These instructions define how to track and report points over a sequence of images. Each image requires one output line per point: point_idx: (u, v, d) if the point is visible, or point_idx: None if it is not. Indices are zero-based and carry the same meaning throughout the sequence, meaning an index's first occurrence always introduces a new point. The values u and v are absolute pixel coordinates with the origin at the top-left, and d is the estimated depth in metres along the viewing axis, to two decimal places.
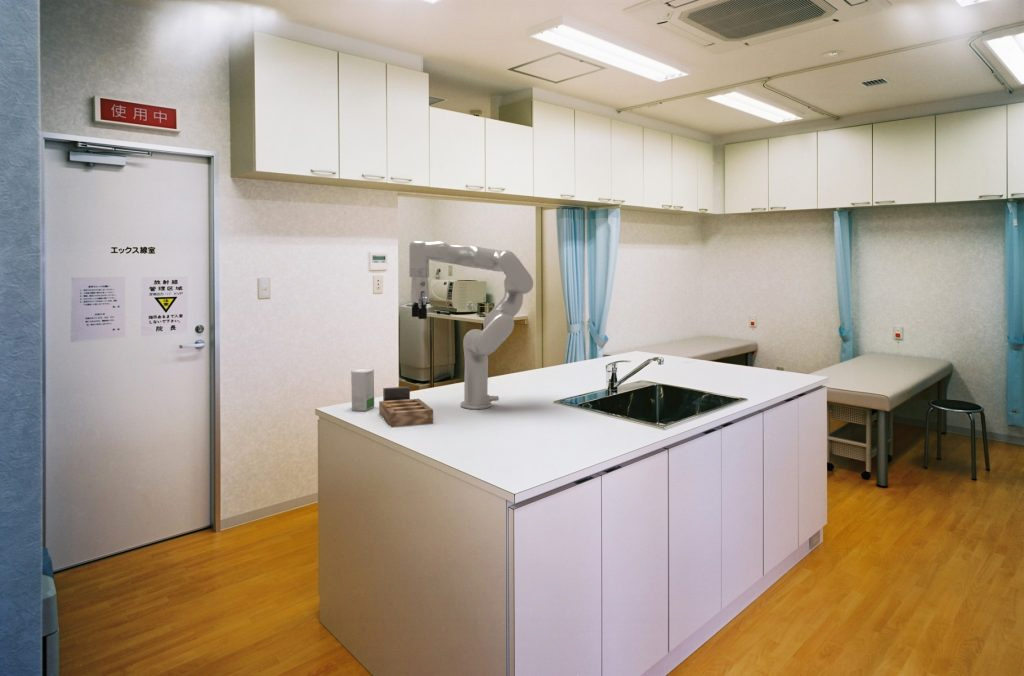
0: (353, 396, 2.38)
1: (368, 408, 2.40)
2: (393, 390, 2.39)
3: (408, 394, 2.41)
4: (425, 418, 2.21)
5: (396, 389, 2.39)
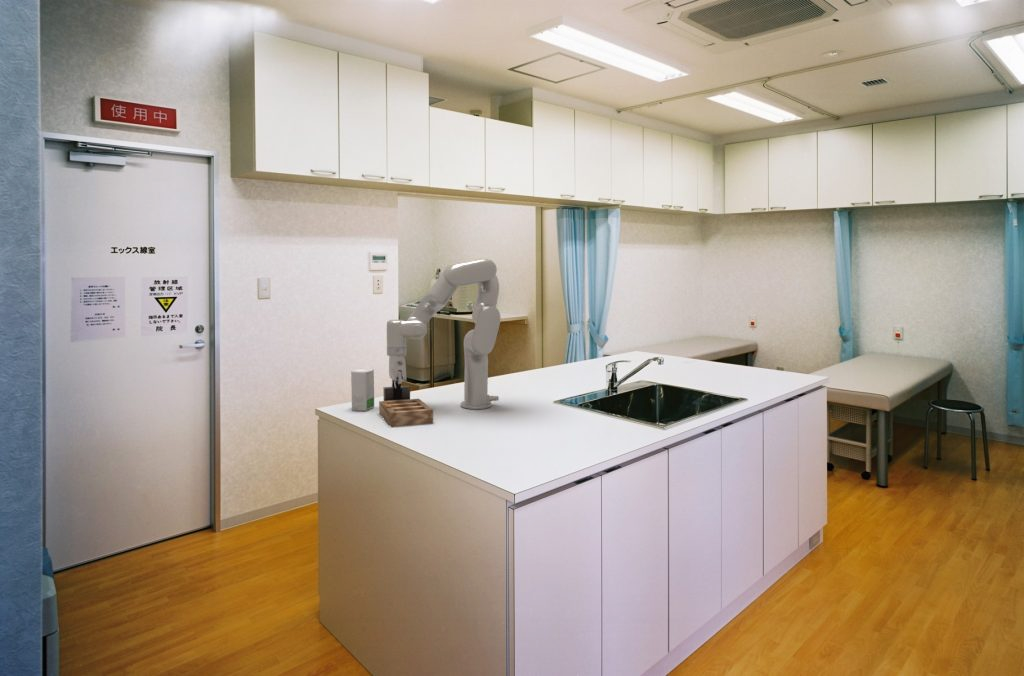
0: (353, 396, 2.38)
1: (368, 408, 2.40)
2: (393, 389, 2.39)
3: (408, 393, 2.41)
4: (425, 418, 2.21)
5: None
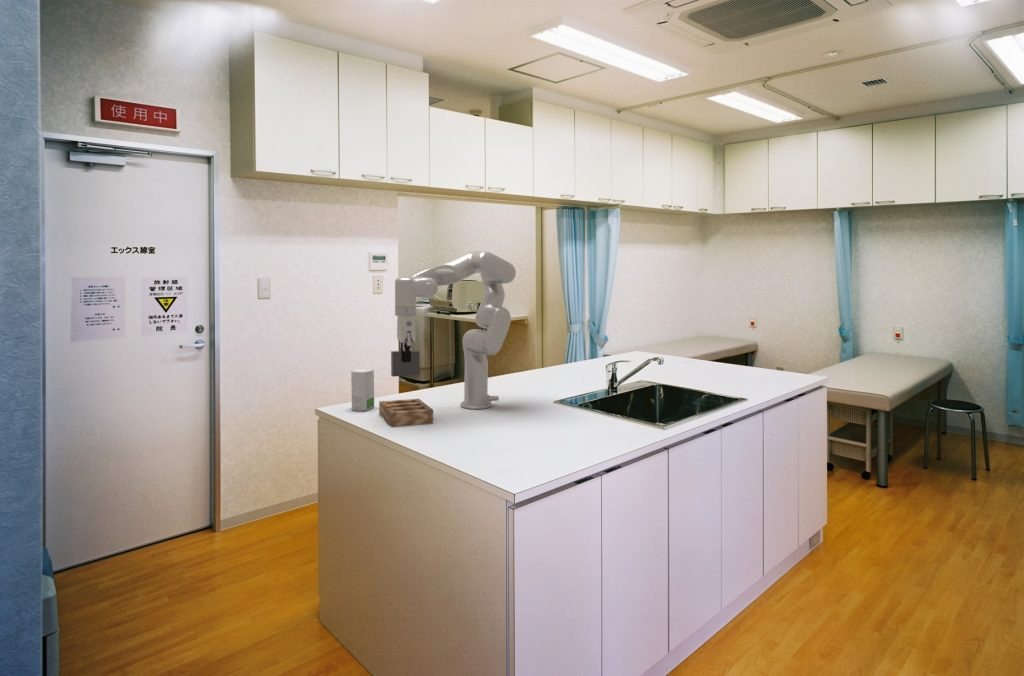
0: (353, 396, 2.38)
1: (368, 408, 2.40)
2: None
3: (418, 358, 2.26)
4: (425, 418, 2.21)
5: None
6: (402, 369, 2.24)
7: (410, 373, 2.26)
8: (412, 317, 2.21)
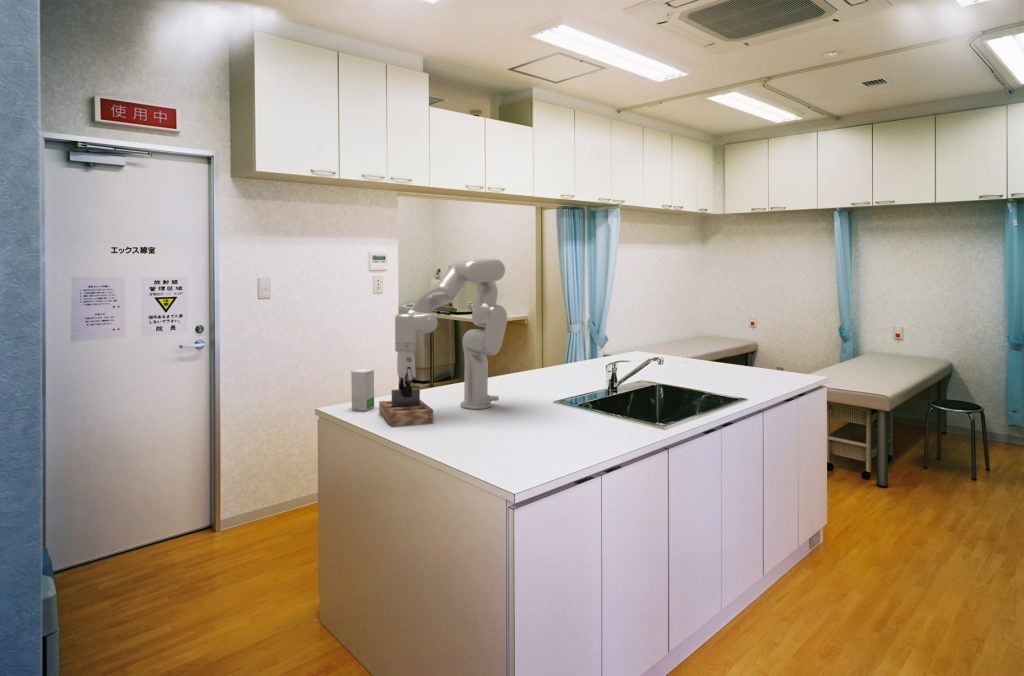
0: (353, 396, 2.38)
1: (368, 408, 2.40)
2: (402, 392, 2.25)
3: (418, 396, 2.28)
4: (425, 418, 2.21)
5: None
6: None
7: None
8: (412, 353, 2.22)
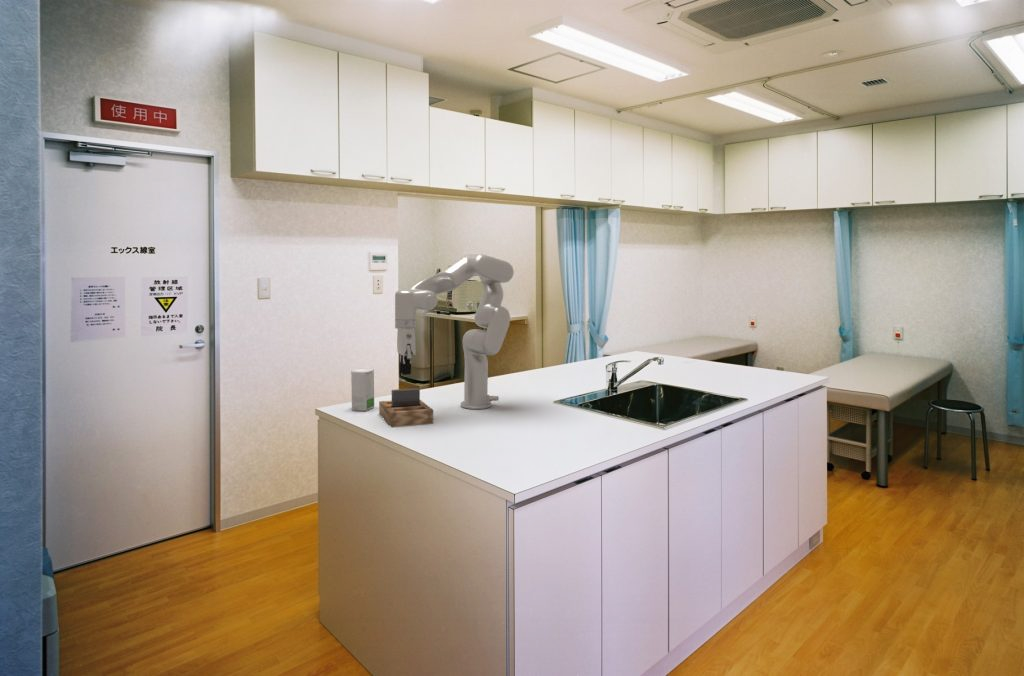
0: (353, 396, 2.38)
1: (368, 408, 2.40)
2: (402, 392, 2.25)
3: (418, 396, 2.28)
4: (425, 418, 2.21)
5: (405, 391, 2.26)
6: None
7: None
8: (412, 330, 2.21)
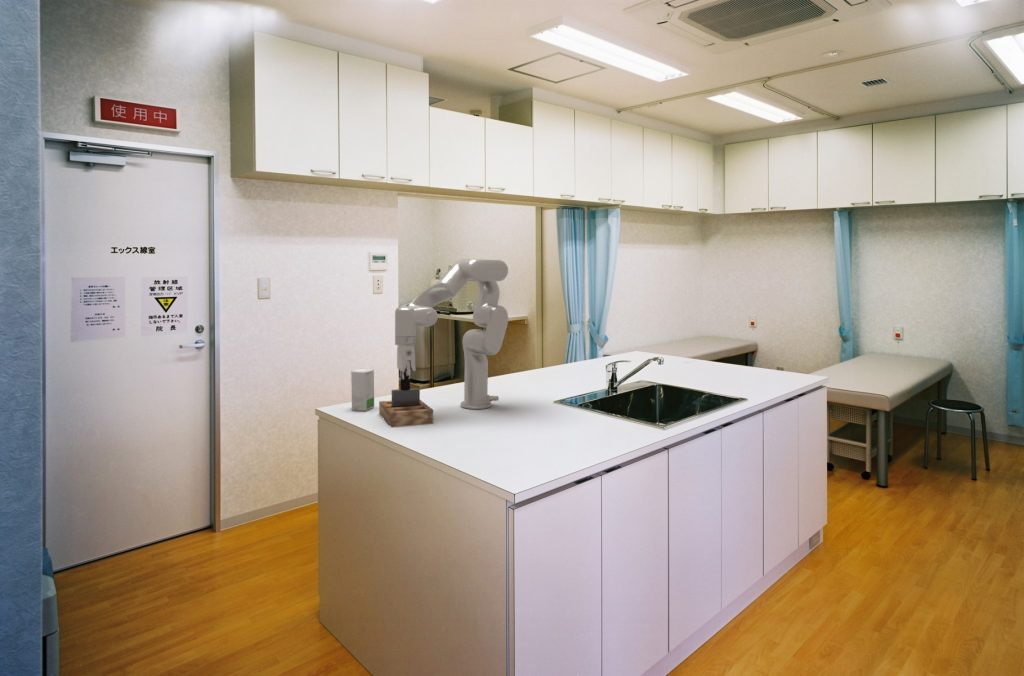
0: (353, 396, 2.38)
1: (368, 408, 2.40)
2: (402, 392, 2.25)
3: (418, 396, 2.28)
4: (425, 418, 2.21)
5: (405, 391, 2.26)
6: None
7: None
8: (412, 346, 2.22)
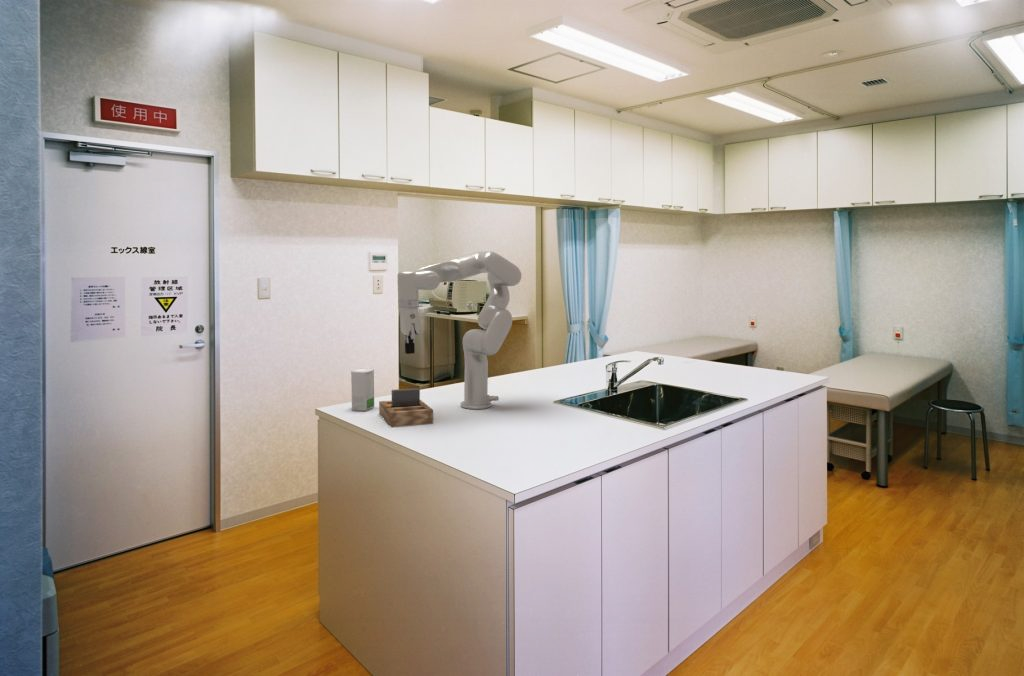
0: (353, 396, 2.38)
1: (368, 408, 2.40)
2: (402, 392, 2.25)
3: (418, 396, 2.28)
4: (425, 418, 2.21)
5: (405, 391, 2.26)
6: None
7: None
8: (415, 310, 2.24)
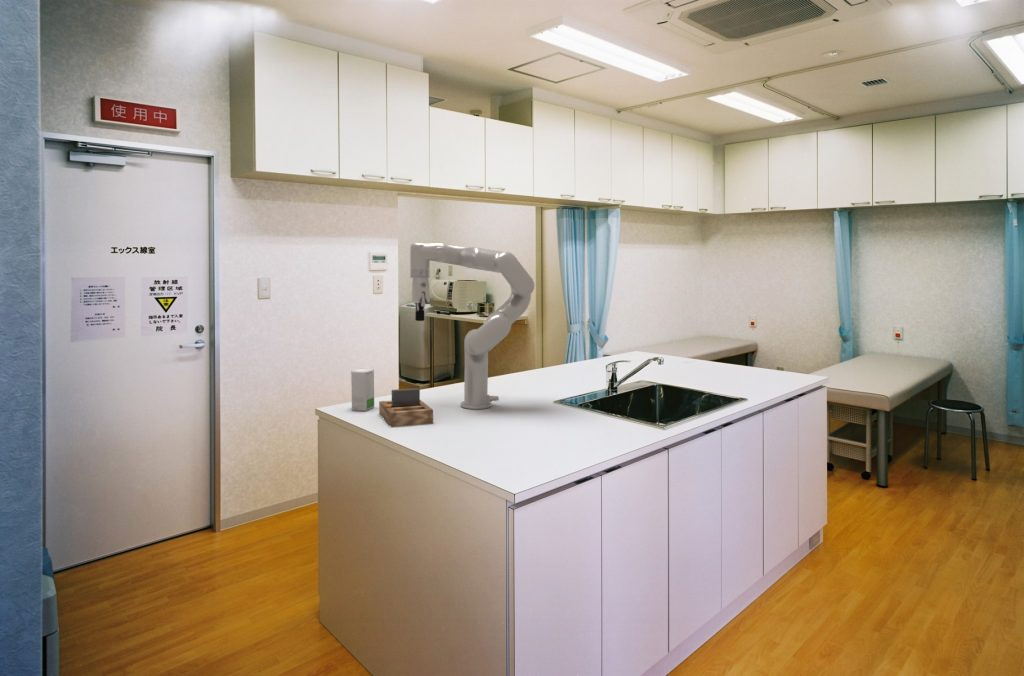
0: (353, 396, 2.38)
1: (368, 408, 2.40)
2: (402, 392, 2.25)
3: (418, 396, 2.28)
4: (425, 418, 2.21)
5: (405, 391, 2.26)
6: None
7: None
8: (426, 279, 2.39)
